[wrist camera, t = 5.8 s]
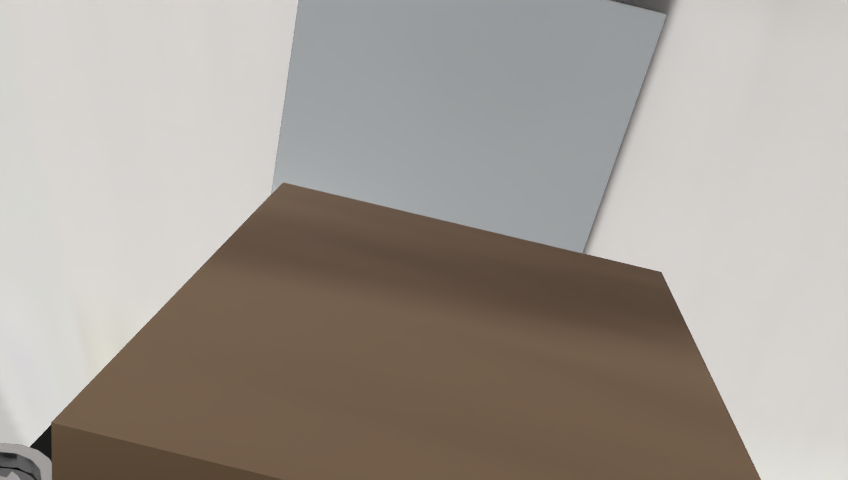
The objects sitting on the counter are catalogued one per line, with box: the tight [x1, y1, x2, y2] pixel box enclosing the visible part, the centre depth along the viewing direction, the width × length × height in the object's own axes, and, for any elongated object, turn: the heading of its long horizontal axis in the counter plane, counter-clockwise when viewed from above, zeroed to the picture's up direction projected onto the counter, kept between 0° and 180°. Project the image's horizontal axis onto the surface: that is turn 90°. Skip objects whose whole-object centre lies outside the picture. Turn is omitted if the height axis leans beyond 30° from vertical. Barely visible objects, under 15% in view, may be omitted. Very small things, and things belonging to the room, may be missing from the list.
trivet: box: [271, 0, 667, 253], centre depth 25 cm, size 12×12×1 cm
